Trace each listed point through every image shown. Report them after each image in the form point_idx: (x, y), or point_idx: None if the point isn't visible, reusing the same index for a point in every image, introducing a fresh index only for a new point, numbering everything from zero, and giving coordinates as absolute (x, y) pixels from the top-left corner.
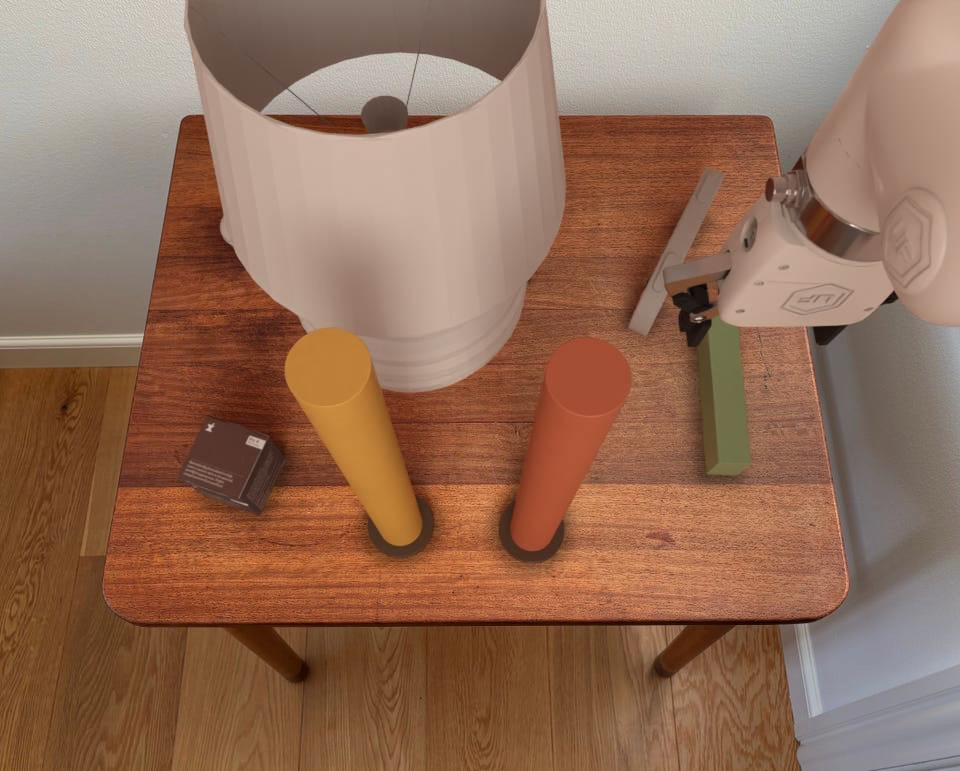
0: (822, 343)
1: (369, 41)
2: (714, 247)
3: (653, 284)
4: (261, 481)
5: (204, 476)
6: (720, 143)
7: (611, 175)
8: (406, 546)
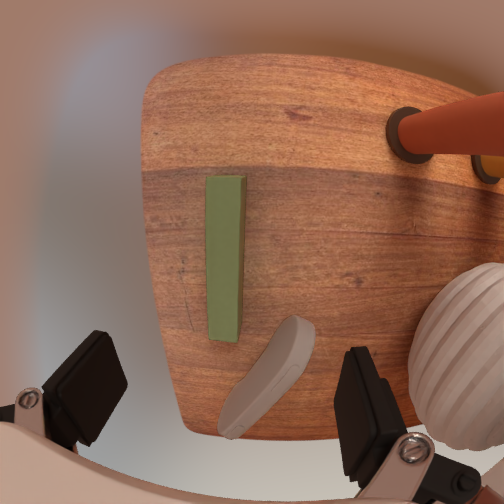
0: (98, 336)
1: None
2: (220, 375)
3: (299, 371)
4: None
5: None
6: (213, 428)
7: (293, 418)
8: None
